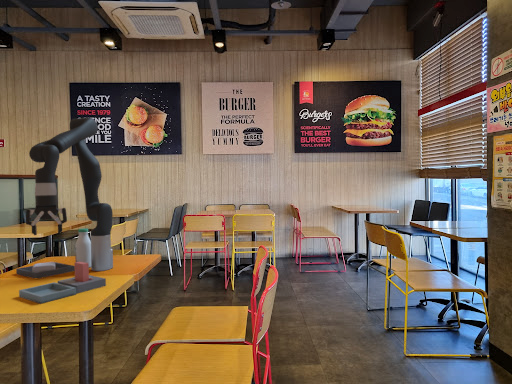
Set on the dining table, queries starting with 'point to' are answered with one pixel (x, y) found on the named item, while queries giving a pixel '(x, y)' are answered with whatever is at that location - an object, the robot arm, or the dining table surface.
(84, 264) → the pink block
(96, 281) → the grey square-hole plate
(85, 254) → the milk bottle
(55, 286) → the tray
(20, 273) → the frame
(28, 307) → the dining table surface
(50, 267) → the charger
